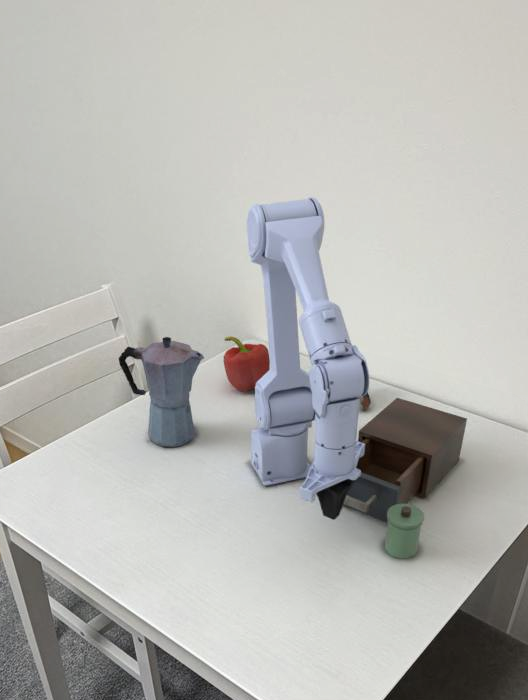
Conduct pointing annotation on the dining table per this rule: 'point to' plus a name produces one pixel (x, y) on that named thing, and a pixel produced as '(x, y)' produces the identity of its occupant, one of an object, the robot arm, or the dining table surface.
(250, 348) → the vegetable
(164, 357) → the moka pot
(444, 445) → the cabinet
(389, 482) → the drawer
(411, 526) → the pot
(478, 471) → the dining table surface
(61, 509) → the dining table surface
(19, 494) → the dining table surface
